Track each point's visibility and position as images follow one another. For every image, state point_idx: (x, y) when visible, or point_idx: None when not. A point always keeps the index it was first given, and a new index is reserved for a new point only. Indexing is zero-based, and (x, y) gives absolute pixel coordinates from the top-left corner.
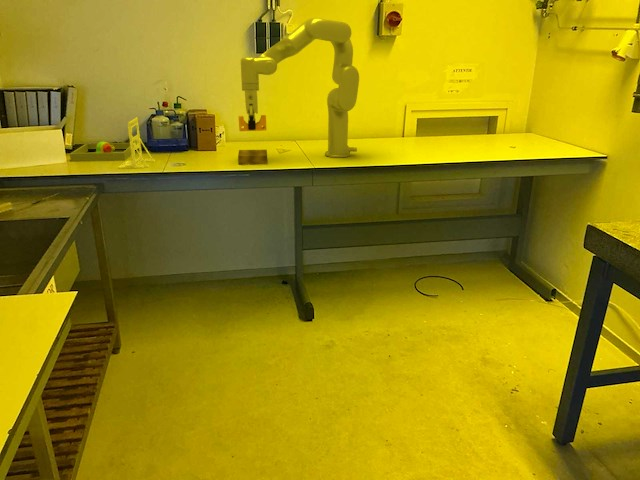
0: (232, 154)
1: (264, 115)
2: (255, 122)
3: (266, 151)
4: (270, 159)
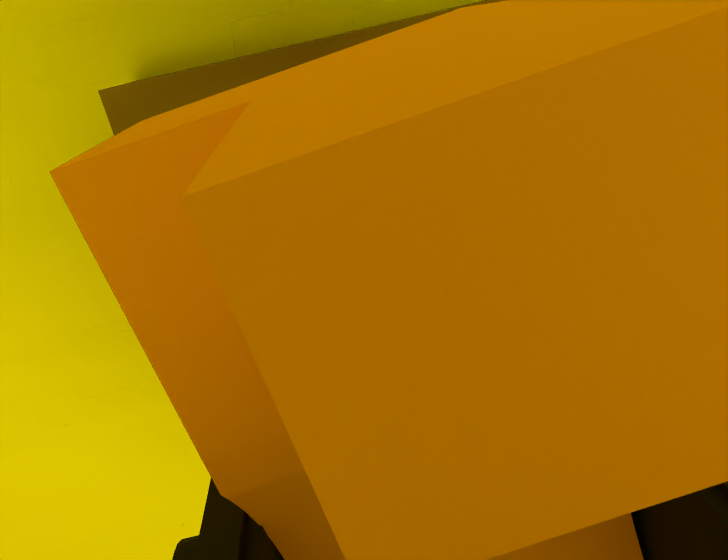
0: (65, 518)
1: (578, 208)
2: (241, 541)
3: (250, 62)
4: (215, 9)
